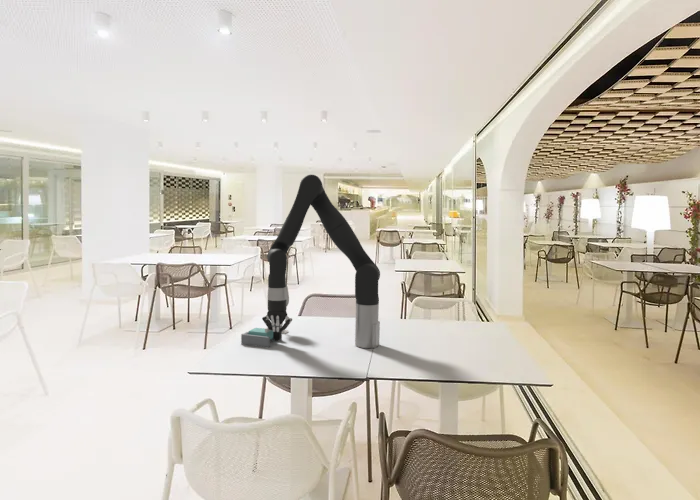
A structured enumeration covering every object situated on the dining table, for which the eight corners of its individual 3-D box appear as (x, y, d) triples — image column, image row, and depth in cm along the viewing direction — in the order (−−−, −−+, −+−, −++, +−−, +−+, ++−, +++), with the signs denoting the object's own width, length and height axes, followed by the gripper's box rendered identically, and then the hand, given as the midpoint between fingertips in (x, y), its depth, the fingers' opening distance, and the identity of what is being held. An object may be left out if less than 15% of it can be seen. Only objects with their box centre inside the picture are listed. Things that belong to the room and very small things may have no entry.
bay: (281, 340, 202) (281, 330, 201) (268, 347, 191) (268, 337, 190) (255, 337, 206) (256, 328, 205) (241, 344, 195) (241, 334, 194)
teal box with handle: (273, 341, 200) (273, 325, 199) (266, 345, 194) (266, 329, 194) (255, 339, 202) (255, 324, 202) (248, 343, 197) (248, 327, 196)
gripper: (296, 297, 196) (296, 339, 197) (267, 295, 200) (267, 336, 201) (287, 300, 189) (287, 344, 190) (257, 298, 193) (258, 341, 194)
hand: (277, 340), depth 196 cm, fingers closed
